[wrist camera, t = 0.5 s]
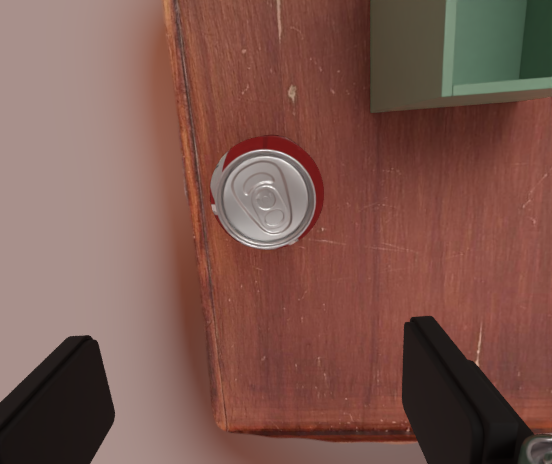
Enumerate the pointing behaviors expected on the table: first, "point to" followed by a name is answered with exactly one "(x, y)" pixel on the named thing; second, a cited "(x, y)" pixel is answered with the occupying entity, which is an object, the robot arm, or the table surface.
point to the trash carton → (458, 52)
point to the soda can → (267, 192)
